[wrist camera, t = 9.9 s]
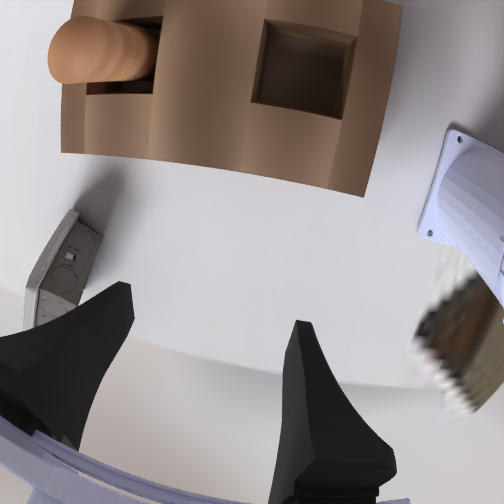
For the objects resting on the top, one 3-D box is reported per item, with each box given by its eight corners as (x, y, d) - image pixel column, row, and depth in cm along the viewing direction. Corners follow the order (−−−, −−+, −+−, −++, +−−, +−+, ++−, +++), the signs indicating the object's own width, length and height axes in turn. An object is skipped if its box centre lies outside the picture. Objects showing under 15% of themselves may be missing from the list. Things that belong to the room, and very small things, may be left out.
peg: (180, 37, 14) (108, 11, 8) (171, 82, 16) (96, 83, 9) (137, 36, 15) (53, 21, 8) (129, 79, 16) (44, 85, 9)
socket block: (377, 22, 13) (402, 2, 9) (347, 172, 18) (363, 197, 14) (119, 2, 14) (76, -11, 10) (104, 136, 19) (61, 152, 15)
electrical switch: (74, 203, 22) (6, 267, 14) (123, 234, 24) (68, 311, 16) (54, 273, 27) (8, 337, 19) (94, 299, 28) (55, 370, 20)
